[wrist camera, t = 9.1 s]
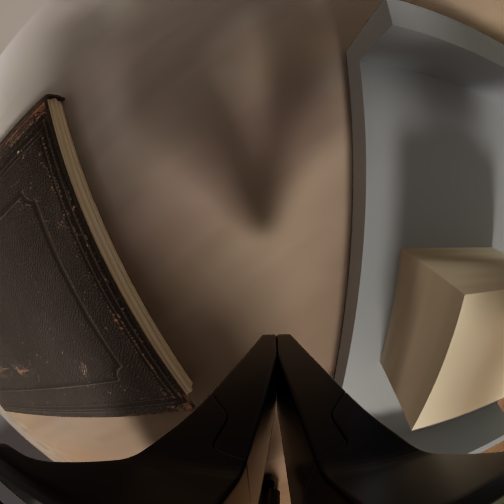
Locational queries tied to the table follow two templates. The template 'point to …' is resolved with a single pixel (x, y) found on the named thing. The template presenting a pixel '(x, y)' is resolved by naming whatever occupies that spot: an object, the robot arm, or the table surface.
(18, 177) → the hardcover book
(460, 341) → the beech block
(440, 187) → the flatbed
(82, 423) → the table surface
